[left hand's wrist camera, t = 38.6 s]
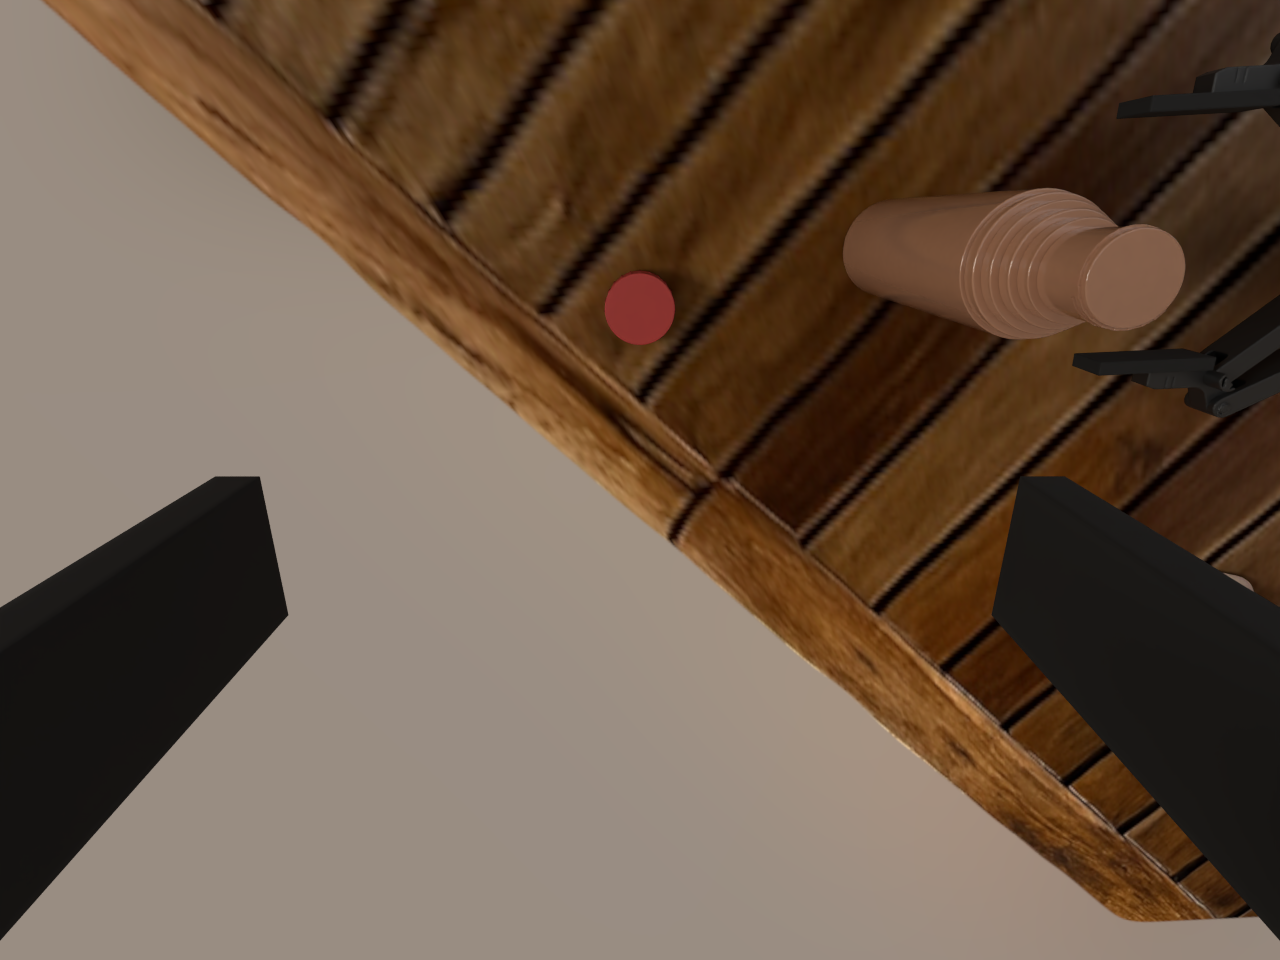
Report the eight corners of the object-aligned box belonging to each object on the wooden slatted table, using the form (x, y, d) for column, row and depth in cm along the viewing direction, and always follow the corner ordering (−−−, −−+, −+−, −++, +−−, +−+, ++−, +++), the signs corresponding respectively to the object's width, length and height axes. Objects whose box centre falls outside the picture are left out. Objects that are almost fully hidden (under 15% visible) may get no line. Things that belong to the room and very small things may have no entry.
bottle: (824, 249, 45) (1006, 281, 23) (896, 177, 44) (1167, 135, 21) (882, 314, 47) (1107, 405, 24) (954, 247, 45) (1265, 277, 23)
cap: (619, 349, 48) (618, 355, 46) (595, 284, 46) (593, 287, 44) (683, 326, 47) (685, 331, 45) (660, 259, 46) (661, 261, 43)
